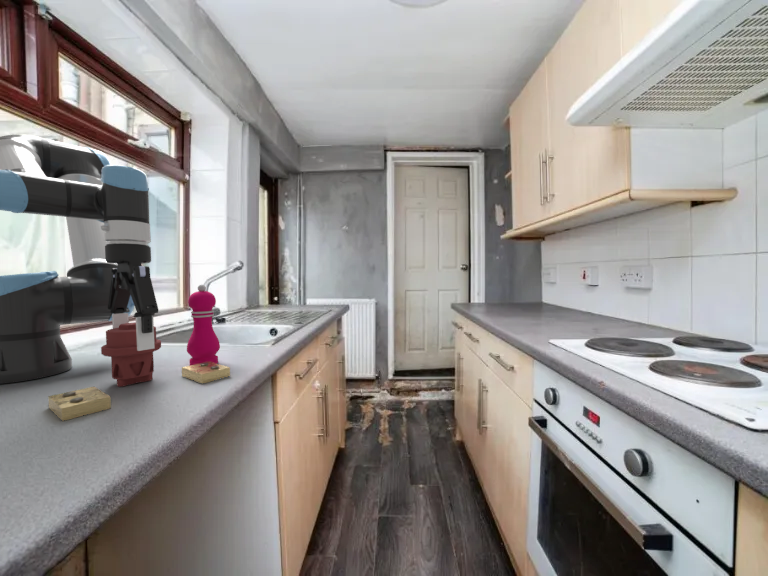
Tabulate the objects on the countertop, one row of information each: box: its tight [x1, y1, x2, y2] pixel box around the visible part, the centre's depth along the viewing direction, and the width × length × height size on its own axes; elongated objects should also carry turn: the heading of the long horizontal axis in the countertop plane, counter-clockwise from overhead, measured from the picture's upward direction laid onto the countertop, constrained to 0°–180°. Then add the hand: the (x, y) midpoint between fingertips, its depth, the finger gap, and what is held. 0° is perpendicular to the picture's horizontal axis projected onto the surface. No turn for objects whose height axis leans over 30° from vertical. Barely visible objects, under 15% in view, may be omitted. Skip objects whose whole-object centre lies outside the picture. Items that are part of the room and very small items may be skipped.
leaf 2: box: [181, 362, 231, 385], centre depth 73 cm, size 9×6×2 cm, turn 55°
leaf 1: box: [47, 386, 112, 422], centre depth 56 cm, size 9×6×2 cm, turn 55°
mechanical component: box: [100, 321, 162, 388], centre depth 70 cm, size 12×10×10 cm
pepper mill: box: [186, 284, 221, 366], centre depth 82 cm, size 7×7×20 cm
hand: (133, 346), depth 69 cm, fingers open, 13 cm apart
